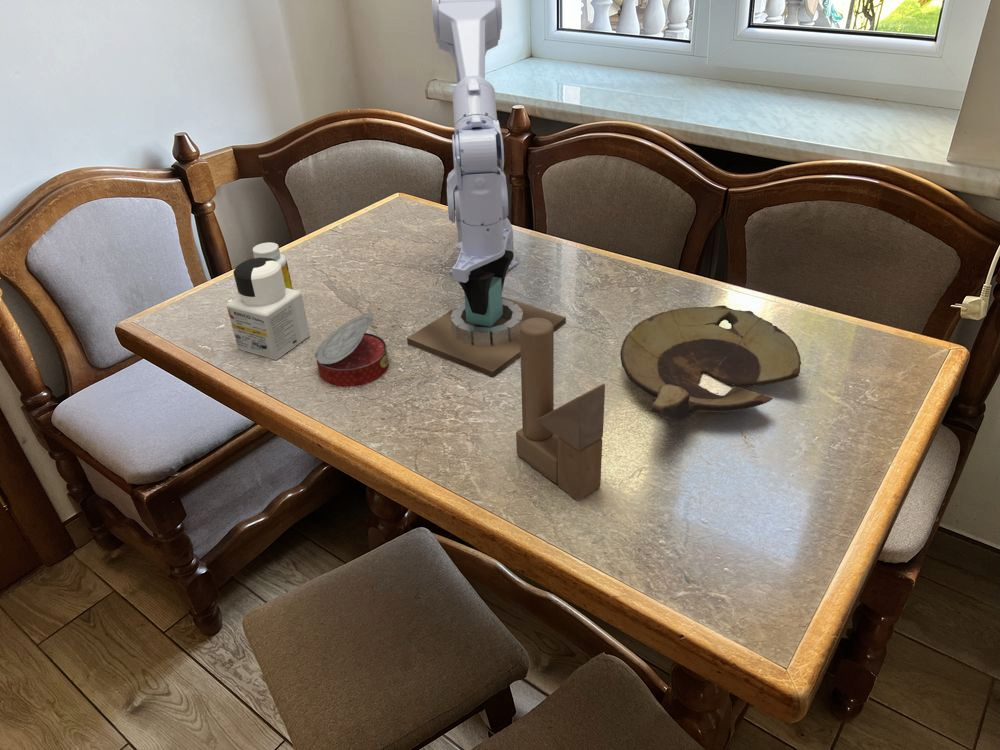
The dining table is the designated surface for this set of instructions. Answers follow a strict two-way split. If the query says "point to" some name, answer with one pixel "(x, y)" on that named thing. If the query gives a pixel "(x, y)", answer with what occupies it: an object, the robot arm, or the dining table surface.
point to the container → (266, 310)
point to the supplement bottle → (274, 253)
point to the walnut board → (477, 358)
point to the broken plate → (706, 359)
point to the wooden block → (557, 418)
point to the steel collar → (487, 335)
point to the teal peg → (493, 306)
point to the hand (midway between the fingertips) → (486, 305)
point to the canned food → (352, 354)
